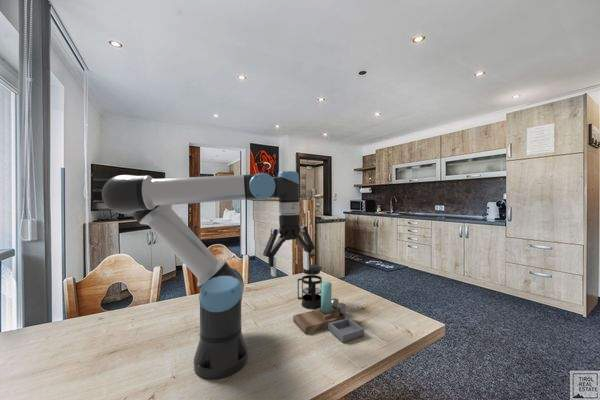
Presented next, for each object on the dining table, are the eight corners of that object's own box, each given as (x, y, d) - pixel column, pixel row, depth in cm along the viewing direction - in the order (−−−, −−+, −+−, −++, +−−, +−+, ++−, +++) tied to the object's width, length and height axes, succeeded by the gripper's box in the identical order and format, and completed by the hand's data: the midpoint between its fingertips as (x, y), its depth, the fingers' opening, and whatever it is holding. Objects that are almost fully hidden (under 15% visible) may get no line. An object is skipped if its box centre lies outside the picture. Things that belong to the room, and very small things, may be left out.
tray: (342, 343, 82) (342, 335, 82) (328, 330, 91) (328, 323, 90) (364, 336, 86) (364, 329, 86) (348, 324, 94) (348, 317, 94)
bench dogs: (341, 322, 96) (341, 306, 96) (329, 313, 103) (329, 299, 103) (347, 320, 97) (347, 305, 97) (335, 312, 105) (335, 297, 104)
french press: (321, 299, 117) (321, 251, 117) (325, 308, 108) (325, 255, 108) (296, 301, 116) (296, 251, 115) (298, 310, 106) (298, 256, 106)
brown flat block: (305, 335, 88) (305, 324, 88) (293, 323, 97) (293, 312, 97) (342, 325, 95) (342, 314, 95) (327, 314, 104) (327, 304, 104)
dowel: (324, 317, 95) (324, 286, 95) (319, 312, 99) (319, 282, 98) (333, 315, 97) (333, 284, 96) (327, 310, 100) (328, 281, 100)
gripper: (261, 216, 81) (262, 281, 81) (323, 212, 94) (324, 268, 94) (253, 215, 87) (254, 275, 87) (311, 211, 100) (312, 264, 100)
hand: (290, 272), depth 91 cm, fingers open, 13 cm apart
